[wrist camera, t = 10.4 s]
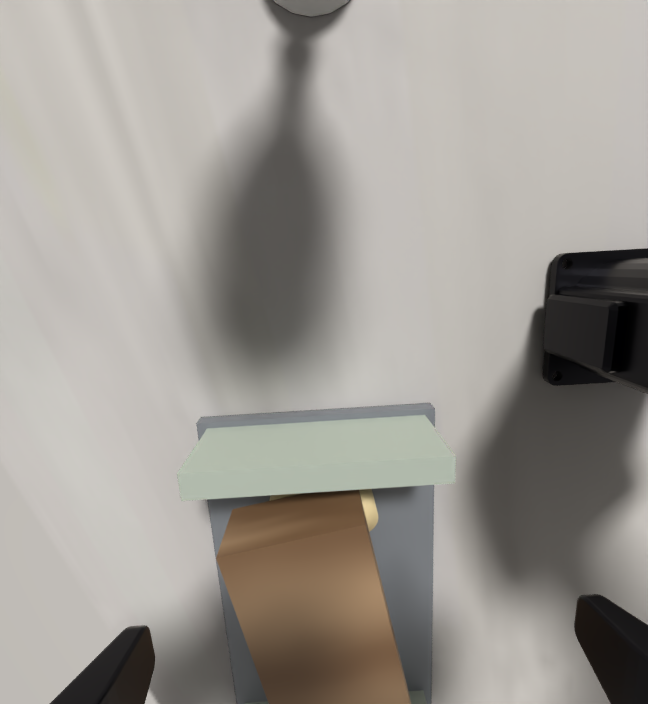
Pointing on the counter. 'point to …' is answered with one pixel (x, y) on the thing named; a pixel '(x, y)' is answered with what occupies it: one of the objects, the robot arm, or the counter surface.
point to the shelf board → (312, 600)
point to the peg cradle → (334, 475)
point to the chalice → (311, 6)
